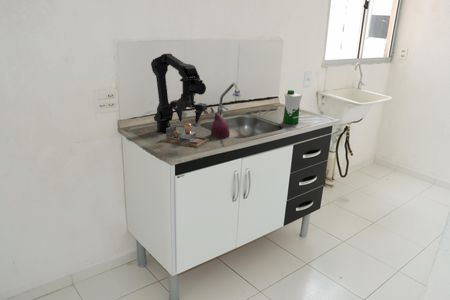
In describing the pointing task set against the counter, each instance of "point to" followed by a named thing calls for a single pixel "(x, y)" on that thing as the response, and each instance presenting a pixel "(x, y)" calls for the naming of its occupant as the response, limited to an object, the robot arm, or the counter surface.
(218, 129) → the vegetable
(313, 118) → the counter surface
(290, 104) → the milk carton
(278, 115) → the counter surface
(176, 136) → the press bench
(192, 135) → the ram
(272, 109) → the counter surface
